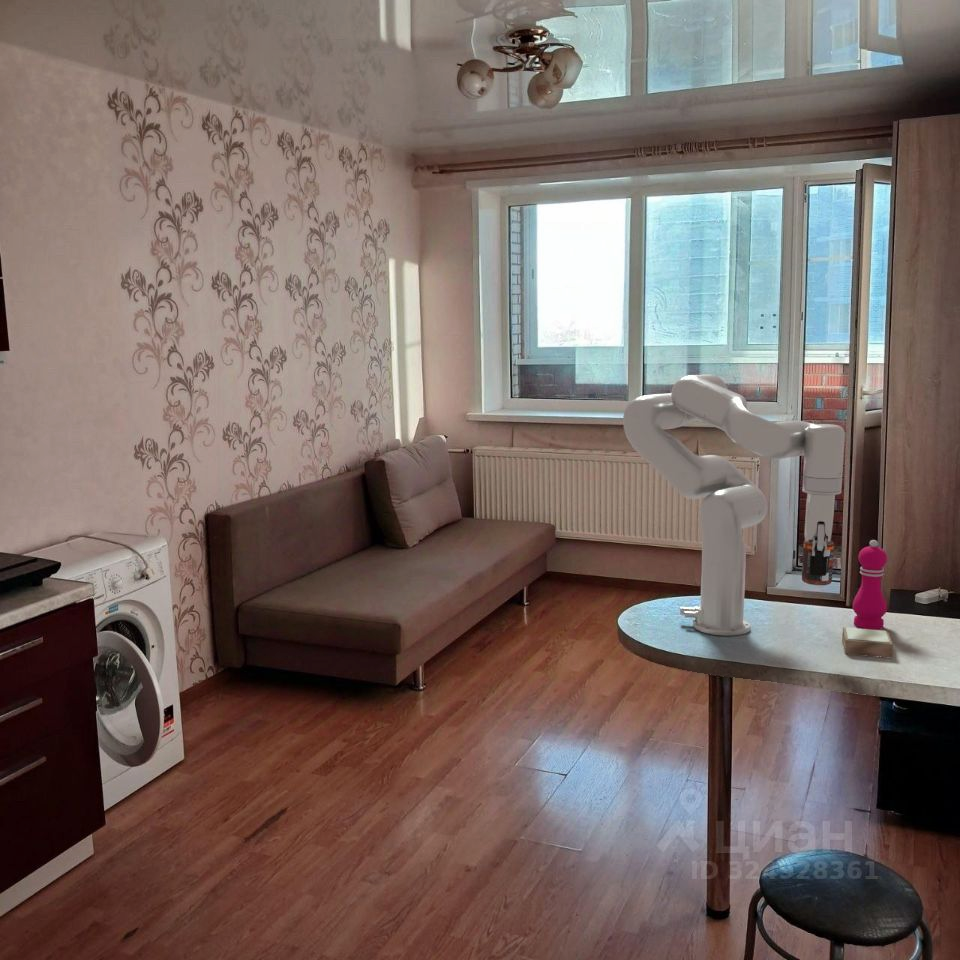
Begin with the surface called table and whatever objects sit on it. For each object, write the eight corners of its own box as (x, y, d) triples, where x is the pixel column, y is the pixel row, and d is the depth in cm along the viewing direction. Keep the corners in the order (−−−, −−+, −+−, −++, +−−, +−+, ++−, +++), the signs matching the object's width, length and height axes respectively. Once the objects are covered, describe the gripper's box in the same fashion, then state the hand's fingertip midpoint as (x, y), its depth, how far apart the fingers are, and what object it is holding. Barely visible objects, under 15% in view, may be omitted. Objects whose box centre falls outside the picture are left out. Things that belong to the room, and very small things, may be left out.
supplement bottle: (834, 587, 197) (837, 532, 195) (803, 585, 198) (806, 531, 196) (829, 579, 202) (832, 526, 201) (799, 578, 203) (802, 525, 202)
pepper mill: (888, 631, 215) (894, 544, 212) (854, 629, 217) (859, 542, 213) (882, 622, 222) (887, 537, 219) (848, 620, 224) (854, 535, 220)
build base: (845, 654, 200) (845, 639, 200) (841, 640, 209) (842, 626, 208) (891, 658, 198) (892, 643, 197) (886, 644, 206) (887, 630, 206)
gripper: (801, 478, 206) (797, 560, 209) (803, 490, 190) (798, 580, 193) (839, 479, 204) (834, 562, 207) (844, 492, 188) (838, 582, 190)
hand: (817, 570), depth 200 cm, fingers closed on supplement bottle, 6 cm apart
